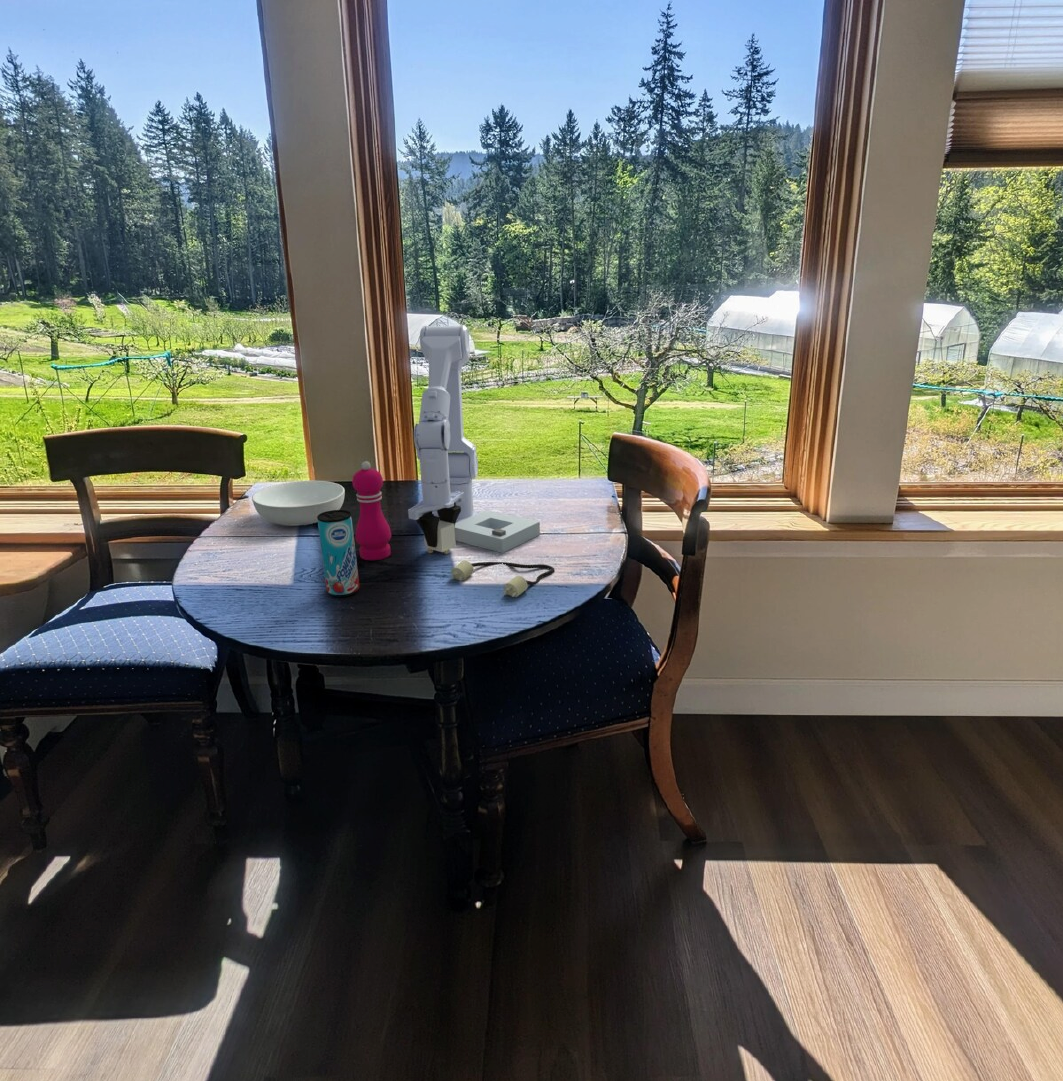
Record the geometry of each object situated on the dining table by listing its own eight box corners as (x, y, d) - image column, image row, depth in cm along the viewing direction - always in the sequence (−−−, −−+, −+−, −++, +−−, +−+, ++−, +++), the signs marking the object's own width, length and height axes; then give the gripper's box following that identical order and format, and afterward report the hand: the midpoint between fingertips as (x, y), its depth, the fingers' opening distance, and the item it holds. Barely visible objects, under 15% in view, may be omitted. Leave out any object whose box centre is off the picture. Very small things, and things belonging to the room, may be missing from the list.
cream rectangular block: (425, 551, 157) (423, 524, 155) (438, 546, 160) (436, 519, 158) (442, 556, 154) (440, 529, 152) (455, 550, 157) (454, 523, 155)
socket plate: (449, 538, 164) (448, 522, 163) (487, 522, 174) (486, 506, 173) (502, 552, 156) (502, 535, 154) (539, 534, 165) (539, 518, 164)
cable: (497, 556, 155) (496, 541, 154) (562, 573, 146) (562, 557, 145) (446, 582, 143) (445, 565, 142) (514, 602, 134) (514, 585, 133)
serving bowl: (279, 542, 165) (274, 512, 163) (242, 520, 180) (237, 492, 178) (363, 520, 178) (360, 492, 175) (322, 501, 193) (319, 475, 190)
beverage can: (330, 600, 136) (319, 522, 130) (324, 588, 141) (314, 512, 135) (362, 594, 138) (354, 517, 133) (356, 583, 143) (347, 508, 138)
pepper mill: (399, 550, 158) (390, 458, 151) (382, 563, 152) (372, 467, 145) (369, 547, 161) (359, 456, 154) (351, 559, 154) (339, 464, 147)
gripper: (424, 491, 144) (429, 557, 149) (473, 474, 155) (477, 536, 160) (398, 486, 148) (404, 550, 153) (448, 469, 159) (452, 530, 164)
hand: (439, 542), depth 157 cm, fingers closed on cream rectangular block, 4 cm apart
